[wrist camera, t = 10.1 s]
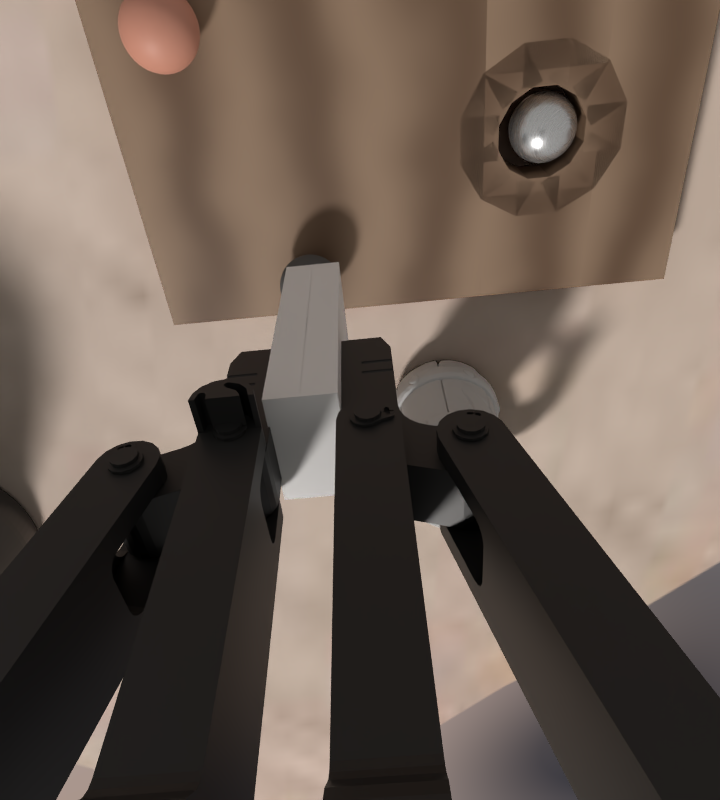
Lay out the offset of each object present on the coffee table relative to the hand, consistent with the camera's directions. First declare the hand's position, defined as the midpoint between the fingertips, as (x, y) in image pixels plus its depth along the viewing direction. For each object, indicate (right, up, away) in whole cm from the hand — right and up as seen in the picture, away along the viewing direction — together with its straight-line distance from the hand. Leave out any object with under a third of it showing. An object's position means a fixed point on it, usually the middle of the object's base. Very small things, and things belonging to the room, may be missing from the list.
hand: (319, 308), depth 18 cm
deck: (+4, +12, +16) cm, 21 cm away
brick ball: (-8, +14, +9) cm, 19 cm away
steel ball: (+11, +12, +15) cm, 22 cm away
